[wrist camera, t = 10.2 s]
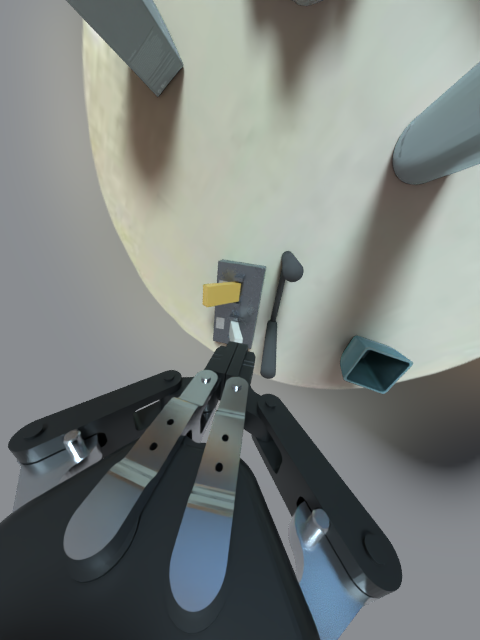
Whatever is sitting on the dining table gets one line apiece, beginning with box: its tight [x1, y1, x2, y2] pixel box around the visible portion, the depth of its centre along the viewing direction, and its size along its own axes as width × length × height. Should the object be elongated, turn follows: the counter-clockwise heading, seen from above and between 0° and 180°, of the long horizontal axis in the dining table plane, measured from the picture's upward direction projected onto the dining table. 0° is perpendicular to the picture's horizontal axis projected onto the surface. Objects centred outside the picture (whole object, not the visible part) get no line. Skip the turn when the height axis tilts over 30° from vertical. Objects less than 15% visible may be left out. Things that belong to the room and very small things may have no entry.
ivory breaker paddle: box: [229, 320, 243, 343], centre depth 39 cm, size 2×4×8 cm, turn 173°
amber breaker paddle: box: [203, 281, 241, 307], centre depth 36 cm, size 2×4×8 cm
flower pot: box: [340, 336, 413, 394], centre depth 39 cm, size 9×9×9 cm
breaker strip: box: [213, 259, 266, 349], centre depth 42 cm, size 10×20×5 cm, turn 172°
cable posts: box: [260, 251, 303, 379], centre depth 33 cm, size 2×18×18 cm, turn 172°
